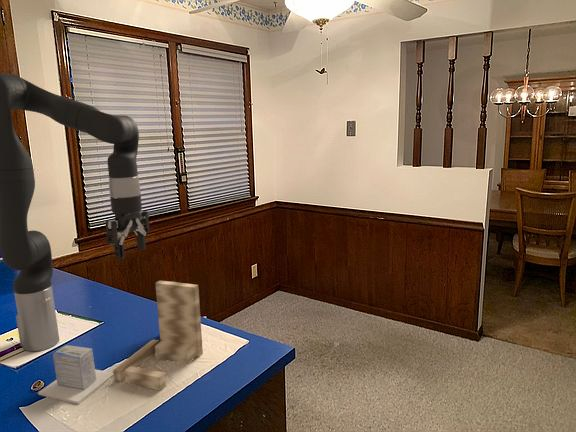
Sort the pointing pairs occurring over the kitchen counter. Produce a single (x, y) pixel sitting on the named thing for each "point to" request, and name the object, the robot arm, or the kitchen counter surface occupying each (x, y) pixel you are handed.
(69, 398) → the grey mat
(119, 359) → the kitchen counter surface
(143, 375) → the slotted stand
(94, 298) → the kitchen counter surface
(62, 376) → the medicine box
